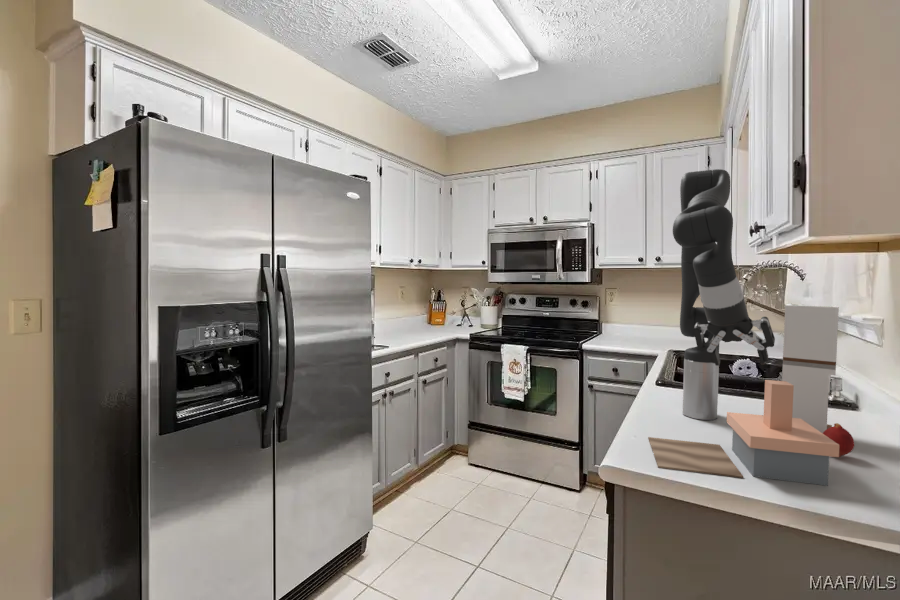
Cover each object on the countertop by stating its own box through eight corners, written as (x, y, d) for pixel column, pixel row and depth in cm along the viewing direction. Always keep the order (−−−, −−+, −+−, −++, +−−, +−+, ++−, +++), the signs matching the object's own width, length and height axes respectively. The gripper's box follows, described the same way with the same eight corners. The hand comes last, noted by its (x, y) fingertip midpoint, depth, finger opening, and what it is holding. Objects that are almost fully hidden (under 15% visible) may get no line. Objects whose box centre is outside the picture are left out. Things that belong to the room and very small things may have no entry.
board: (648, 438, 114) (648, 436, 114) (719, 446, 109) (719, 444, 109) (657, 467, 97) (658, 465, 97) (743, 478, 92) (743, 476, 92)
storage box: (732, 449, 107) (733, 417, 107) (795, 456, 103) (796, 423, 102) (753, 476, 93) (754, 439, 92) (827, 485, 89) (829, 447, 88)
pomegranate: (834, 450, 107) (836, 418, 106) (860, 460, 101) (862, 426, 100) (814, 452, 106) (816, 419, 105) (839, 462, 100) (840, 428, 100)
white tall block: (832, 444, 111) (838, 307, 109) (779, 434, 118) (785, 305, 116) (831, 432, 119) (837, 305, 117) (782, 423, 126) (787, 303, 124)
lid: (726, 422, 108) (728, 372, 107) (800, 428, 103) (802, 376, 103) (750, 447, 92) (752, 389, 91) (838, 457, 87) (841, 395, 86)
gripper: (764, 285, 90) (780, 352, 94) (688, 295, 100) (706, 355, 104) (761, 302, 85) (778, 372, 89) (682, 310, 95) (701, 373, 99)
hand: (739, 363), depth 96 cm, fingers open, 8 cm apart
